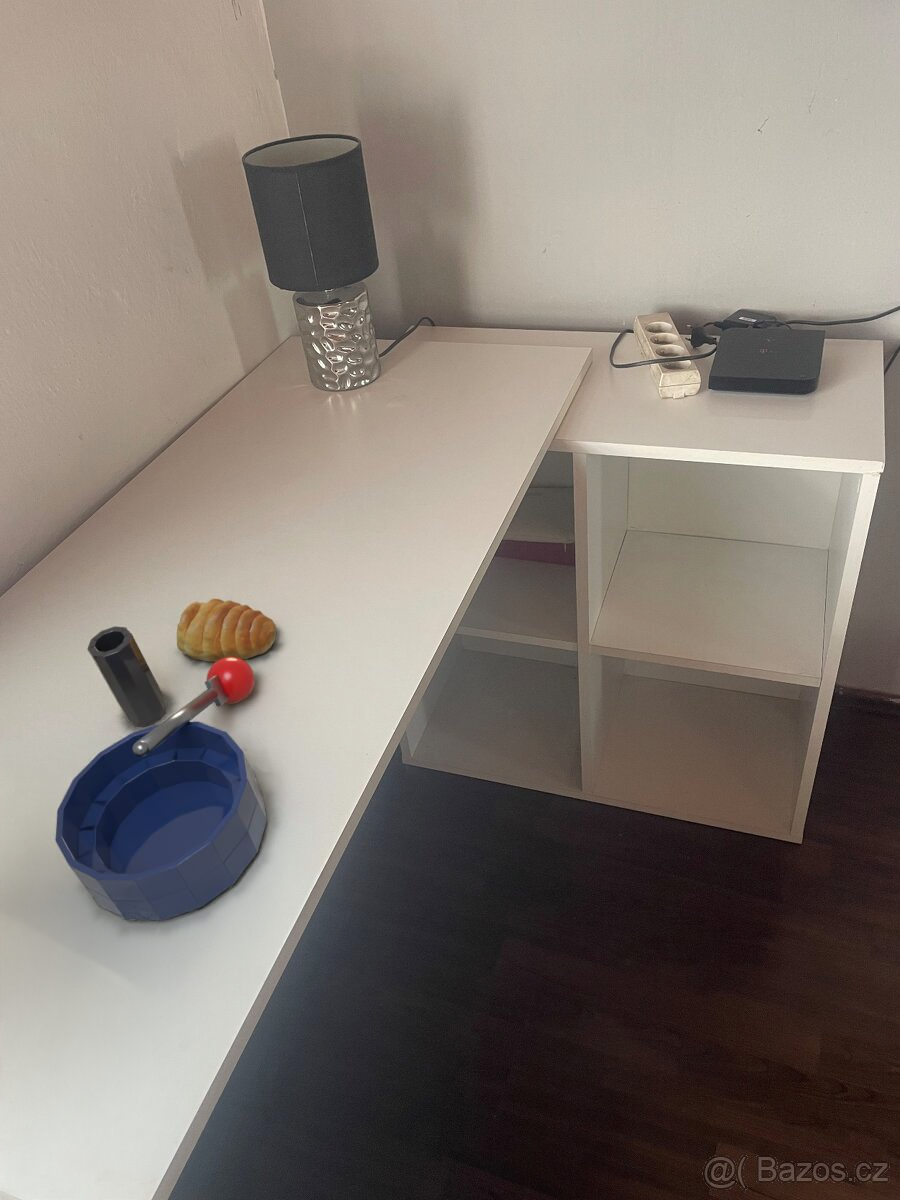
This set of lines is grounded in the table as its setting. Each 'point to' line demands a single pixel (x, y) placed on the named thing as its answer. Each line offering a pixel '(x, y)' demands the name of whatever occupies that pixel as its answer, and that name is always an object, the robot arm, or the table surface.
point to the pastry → (223, 631)
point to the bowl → (162, 822)
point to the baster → (204, 700)
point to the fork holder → (128, 676)
